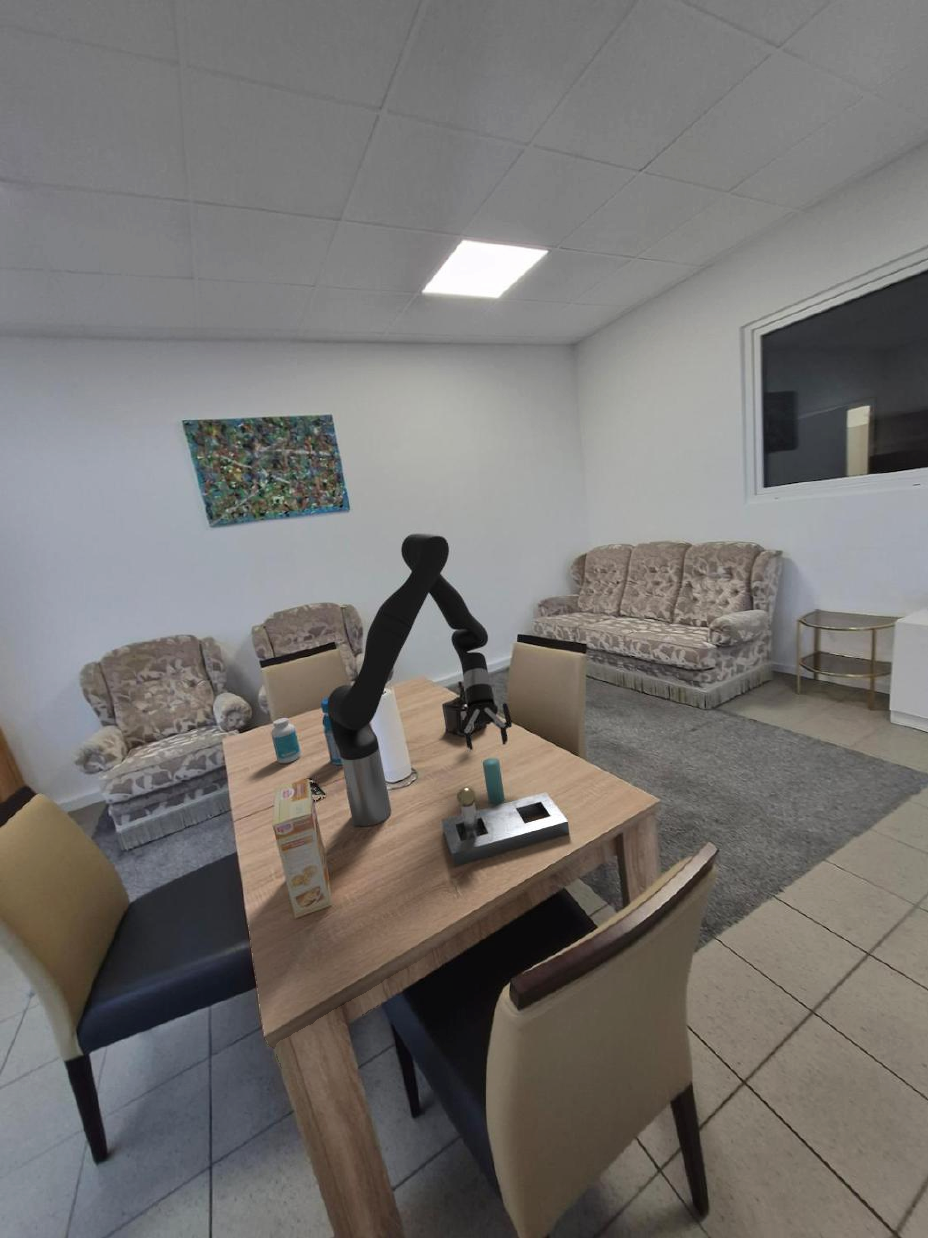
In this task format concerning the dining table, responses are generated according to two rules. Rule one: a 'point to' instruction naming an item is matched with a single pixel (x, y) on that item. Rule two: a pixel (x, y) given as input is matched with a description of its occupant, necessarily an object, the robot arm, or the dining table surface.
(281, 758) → the pill bottle
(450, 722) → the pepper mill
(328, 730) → the beverage bottle
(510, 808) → the hole plate
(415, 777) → the dining table surface
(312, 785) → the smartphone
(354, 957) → the dining table surface
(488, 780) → the teal peg
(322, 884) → the coffeecake box
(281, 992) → the dining table surface
